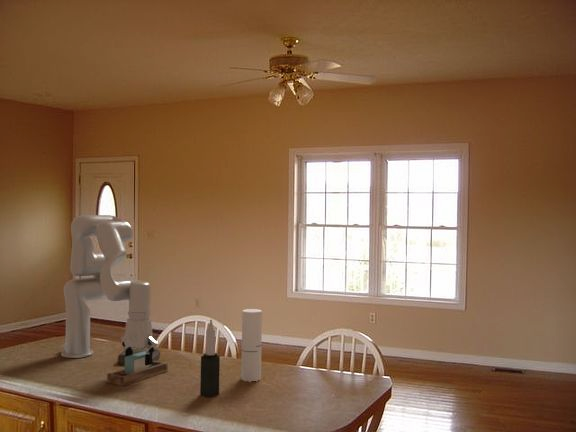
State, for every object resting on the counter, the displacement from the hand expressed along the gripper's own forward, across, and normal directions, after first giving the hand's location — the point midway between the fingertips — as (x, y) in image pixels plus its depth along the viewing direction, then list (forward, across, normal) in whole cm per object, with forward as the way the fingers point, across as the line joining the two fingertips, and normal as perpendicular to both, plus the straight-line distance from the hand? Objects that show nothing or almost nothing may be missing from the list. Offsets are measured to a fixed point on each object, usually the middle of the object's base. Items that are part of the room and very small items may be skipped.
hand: (138, 362), depth 207 cm
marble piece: (+6, -14, +15) cm, 22 cm away
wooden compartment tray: (+5, 0, 0) cm, 5 cm away
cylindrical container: (+5, +36, +20) cm, 42 cm away
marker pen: (+5, +34, -2) cm, 34 cm away
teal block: (+4, 0, 0) cm, 4 cm away
